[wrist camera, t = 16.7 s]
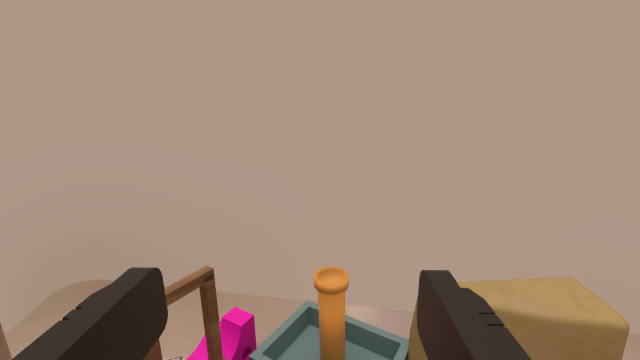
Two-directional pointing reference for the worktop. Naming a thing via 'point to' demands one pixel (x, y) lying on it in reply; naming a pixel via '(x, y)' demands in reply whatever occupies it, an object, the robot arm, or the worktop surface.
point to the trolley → (209, 309)
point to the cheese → (548, 319)
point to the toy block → (232, 337)
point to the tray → (304, 342)
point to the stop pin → (331, 311)
